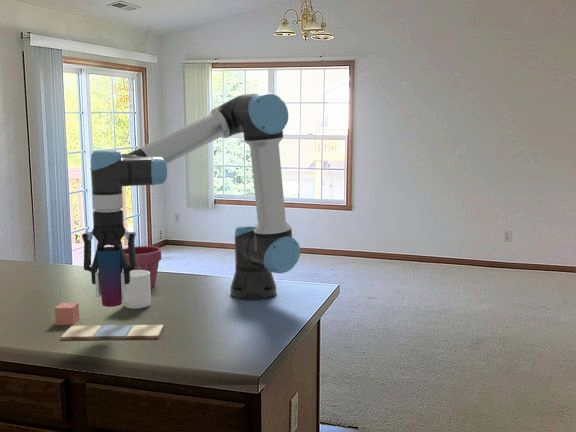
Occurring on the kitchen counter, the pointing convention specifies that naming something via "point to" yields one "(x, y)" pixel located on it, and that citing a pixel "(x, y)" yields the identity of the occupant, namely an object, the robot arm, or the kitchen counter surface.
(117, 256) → the cup
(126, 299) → the mug
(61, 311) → the die
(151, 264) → the plant pot
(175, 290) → the kitchen counter surface
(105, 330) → the multicoloured flat piece
